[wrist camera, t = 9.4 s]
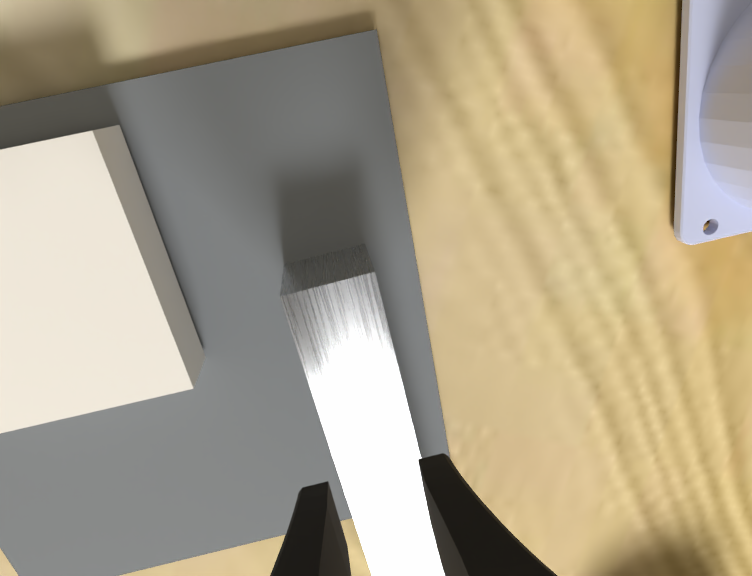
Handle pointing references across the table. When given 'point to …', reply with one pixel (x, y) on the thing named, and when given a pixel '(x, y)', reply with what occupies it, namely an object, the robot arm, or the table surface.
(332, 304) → the bar
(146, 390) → the tile
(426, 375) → the mat
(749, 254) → the table surface
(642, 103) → the table surface
